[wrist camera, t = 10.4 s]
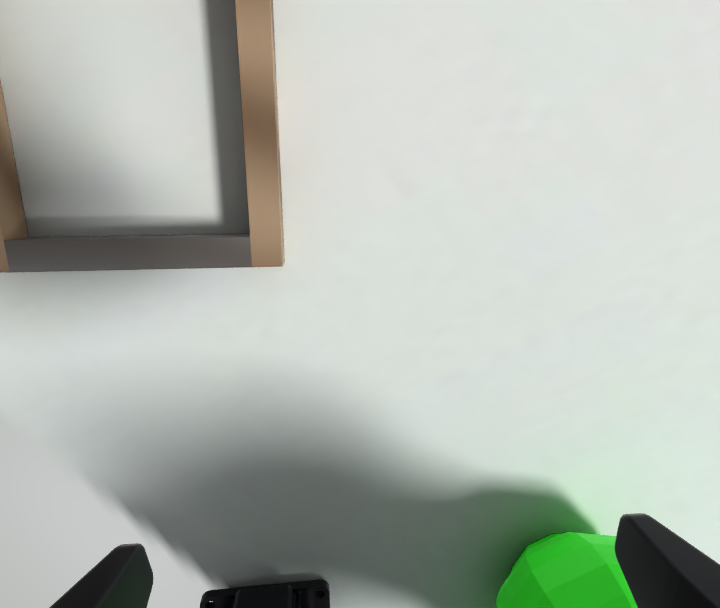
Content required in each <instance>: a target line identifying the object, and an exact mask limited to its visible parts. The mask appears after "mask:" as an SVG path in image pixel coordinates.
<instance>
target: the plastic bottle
mask: <svg viewBox="0 0 720 608" xmlns="http://www.w3.org/2000/svg"><path fill="white" fill-rule="evenodd" d="M615 541H616V536H607V535H596V534H586V533H576V532H566V533H563V534H557V533H553V534H551V535H549V536H547V537H545V538H543V539H541V540H539V541H537V542H534V543H532V544H530V545H528V546H527V547H526V548H525V550H524V551H523V553H522V554H521V556H520V557H519V559H518V560H517V561H516V563H515V564H514V566H513V567H512V569H511V573H510V575H509V576H508V578H507V579H506V580H505V582H504V583H503V585H502V586H501V588H500V590H499V593H498V595H497V598H496V608H638V607H637V605H636V602H635V600H634V598H633V595H632V593H631V591H630V588H629V586H628V584H627V581H626V579H625V577H624V574H623V572H622V570H621V568H620V565H619V563H618V560H617V558H616V554H615Z"/></svg>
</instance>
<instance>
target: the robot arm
mask: <svg viewBox="0 0 720 608" xmlns="http://www.w3.org/2000/svg"><path fill="white" fill-rule="evenodd" d="M615 554H616V558H617V560H618V563H619V565H620V568H621V570H622V572H623V574H624V577H625V579H626V581H627V584H628V586H629V588H630V591H631V593H632V595H633V598H634V600H635V602H636V605H637V607H638V608H720V564H718V563H717V562H715V561H714V560H712V559H711V558H710V557H708V556H707V555H705V554H704V553H702V552H701V551H700V550H698V549H697V548H695V547H694V546H692V545H691V544H689V543H688V542H687V541H685V540H684V539H682V538H681V537H679V536H678V535H676V534H675V533H674V532H672V531H671V530H669V529H668V528H666V527H665V526H663V525H662V524H661V523H659V522H658V521H656V520H655V519H653V518H652V517H650V516H649V515H646V514H642V513H638V514H625V515H623V516H622V517H621V518H620V522H619V526H618V531H617V536H616V541H615ZM152 585H153V572H152V569H151V566H150V563H149V560H148V557H147V555H146V552H145V549H144V547H143V546H142V545H141V544H123V545H120V546H118V547H116V548H115V549H114V550H112V551H111V552H110V553H109V554H108V555H107V556H106V557H105V558H104V559H102V560H101V561H100V562H99V563H98V564H97V565H96V566H95V567H94V568H93V569H91V571H89V572H88V573H87V574H86V575H85V576H84V577H83V578H82V579H81V580H79V581H78V582H77V583H76V584H75V585H74V586H73V587H72V588H71V589H70V590H69V591H67V592H66V593H65V594H64V595H63V596H62V597H61V598H60V599H59V600H57V601H56V602H55V603H54V604H53V605H52V606H51V607H50V608H146V607H147V603H148V600H149V596H150V593H151V589H152ZM318 590H322V591H320V592H318ZM209 601H213V602H209ZM200 608H330V598H329V585H328V583H327V582H326V581H324V580H312V581H302V582H291V583H281V584H270V585H260V586H250V587H239V588H229V589H219V590H210V591H207V592H205V593H204V594H203V596H202V599H201V603H200Z"/></svg>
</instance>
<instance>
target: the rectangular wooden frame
mask: <svg viewBox="0 0 720 608" xmlns="http://www.w3.org/2000/svg"><path fill="white" fill-rule="evenodd" d="M235 7H236V23H237V38H238V54H239V70H240V85H241V101H242V117H243V133H244V148H245V164H246V180H247V196H248V211H249V227H250V234H215V235H142V236H69V237H29V236H28V231H27V225H26V220H25V214H24V209H23V203H22V198H21V192H20V187H19V181H18V175H17V170H16V164H15V159H14V153H13V148H12V142H11V137H10V131H9V126H8V120H7V115H6V109H5V104H4V98H3V92H2V87H1V81H0V272H46V271H92V270H139V269H185V268H232V267H279V266H283V264H284V262H285V260H284V238H283V216H282V195H281V173H280V151H279V129H278V108H277V86H276V64H275V42H274V21H273V0H235Z"/></svg>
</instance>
